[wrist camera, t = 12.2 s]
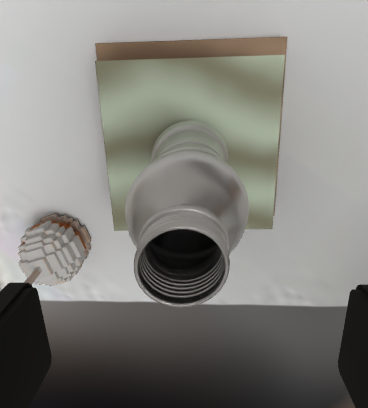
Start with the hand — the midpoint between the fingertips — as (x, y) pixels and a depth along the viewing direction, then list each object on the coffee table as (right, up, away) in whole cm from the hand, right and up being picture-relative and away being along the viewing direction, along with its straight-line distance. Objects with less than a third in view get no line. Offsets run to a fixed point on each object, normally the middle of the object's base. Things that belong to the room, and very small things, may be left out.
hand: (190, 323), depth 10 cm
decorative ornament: (-17, -1, +37) cm, 40 cm away
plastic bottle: (0, +8, +21) cm, 23 cm away
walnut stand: (+1, +12, +31) cm, 33 cm away
